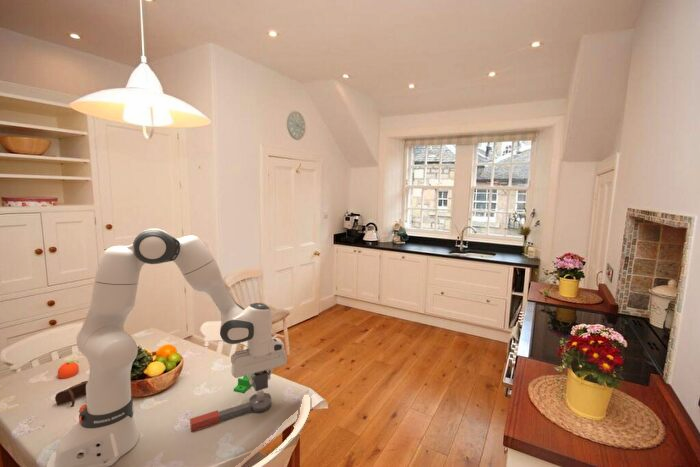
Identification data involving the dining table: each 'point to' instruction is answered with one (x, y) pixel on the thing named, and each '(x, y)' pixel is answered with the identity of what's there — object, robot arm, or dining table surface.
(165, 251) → the robot arm
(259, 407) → the ratchet
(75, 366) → the orange tomato
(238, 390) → the pipe clamp
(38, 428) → the dining table surface
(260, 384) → the socket
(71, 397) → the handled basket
